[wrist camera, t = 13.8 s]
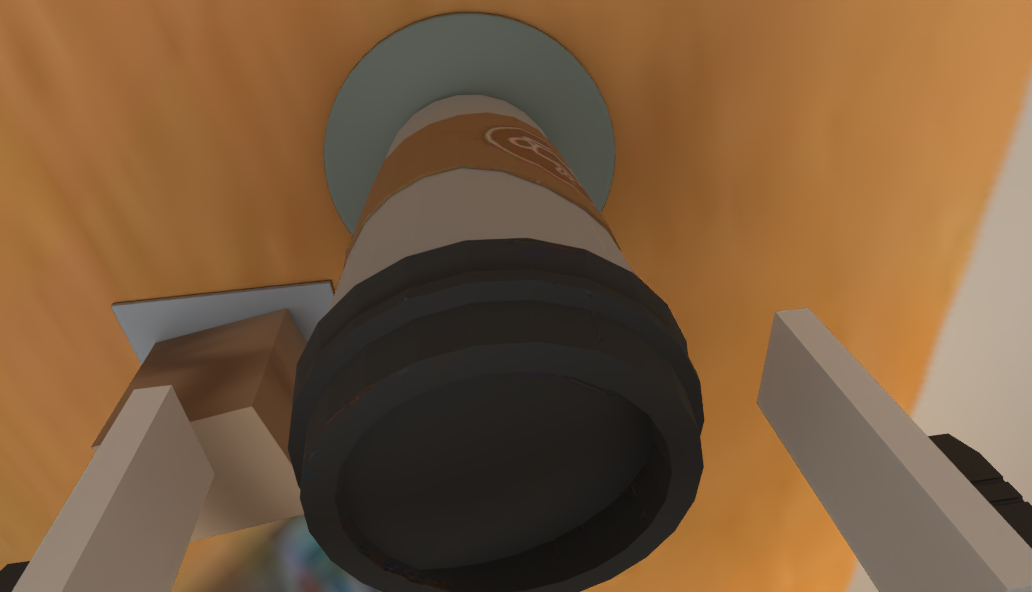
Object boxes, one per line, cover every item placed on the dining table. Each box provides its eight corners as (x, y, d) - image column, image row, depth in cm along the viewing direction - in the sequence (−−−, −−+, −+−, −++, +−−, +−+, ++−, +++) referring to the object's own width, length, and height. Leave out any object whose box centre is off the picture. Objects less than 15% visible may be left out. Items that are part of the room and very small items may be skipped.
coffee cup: (623, 150, 24) (824, 446, 11) (492, 299, 27) (538, 656, 15) (442, 7, 20) (449, 208, 8) (317, 197, 23) (184, 552, 11)
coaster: (359, 297, 27) (357, 305, 26) (292, 26, 21) (288, 29, 20) (608, 270, 27) (611, 277, 27) (615, -1, 21) (619, 1, 21)
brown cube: (224, 435, 30) (182, 544, 25) (155, 343, 27) (91, 447, 22) (341, 405, 30) (322, 509, 25) (286, 308, 27) (251, 406, 22)
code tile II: (189, 451, 31) (188, 454, 31) (112, 303, 26) (110, 306, 26) (371, 429, 31) (370, 433, 31) (330, 280, 26) (329, 283, 26)
